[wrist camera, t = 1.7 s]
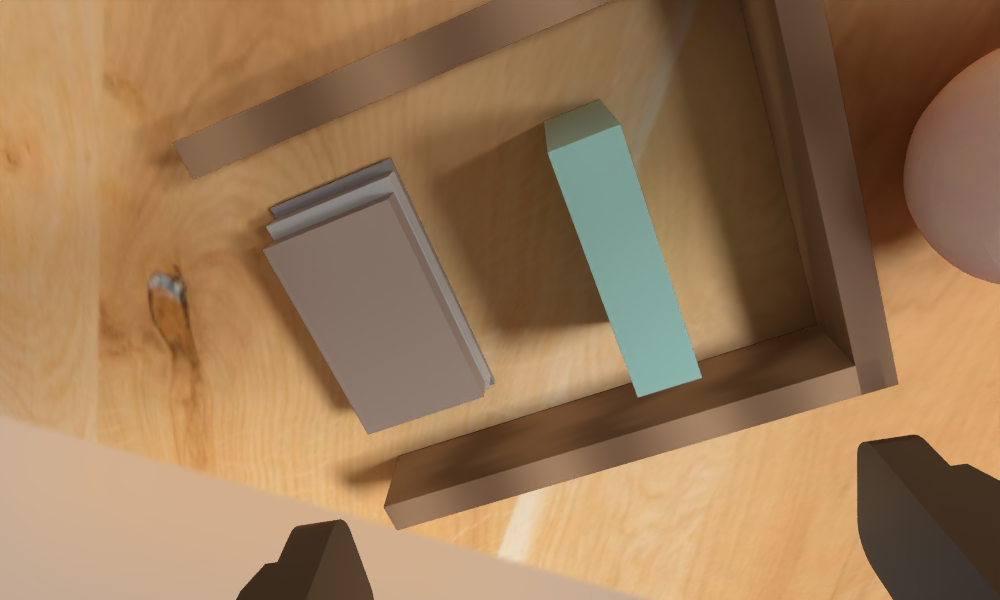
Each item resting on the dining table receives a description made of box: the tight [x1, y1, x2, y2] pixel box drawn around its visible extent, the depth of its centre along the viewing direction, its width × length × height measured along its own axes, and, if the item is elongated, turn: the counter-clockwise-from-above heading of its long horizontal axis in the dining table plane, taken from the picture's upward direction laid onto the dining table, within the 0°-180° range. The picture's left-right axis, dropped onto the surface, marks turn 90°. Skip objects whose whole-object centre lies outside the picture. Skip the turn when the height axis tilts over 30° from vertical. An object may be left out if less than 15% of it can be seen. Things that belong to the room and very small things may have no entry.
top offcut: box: [262, 192, 485, 435], centre depth 30 cm, size 6×10×1 cm, turn 22°
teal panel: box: [544, 99, 702, 397], centre depth 26 cm, size 2×10×7 cm, turn 22°
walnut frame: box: [172, 0, 898, 530], centre depth 28 cm, size 24×20×4 cm
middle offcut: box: [266, 170, 491, 390], centre depth 31 cm, size 6×11×1 cm, turn 22°
